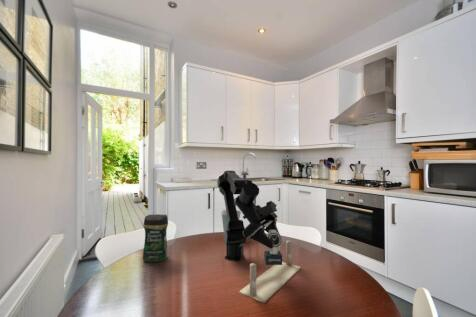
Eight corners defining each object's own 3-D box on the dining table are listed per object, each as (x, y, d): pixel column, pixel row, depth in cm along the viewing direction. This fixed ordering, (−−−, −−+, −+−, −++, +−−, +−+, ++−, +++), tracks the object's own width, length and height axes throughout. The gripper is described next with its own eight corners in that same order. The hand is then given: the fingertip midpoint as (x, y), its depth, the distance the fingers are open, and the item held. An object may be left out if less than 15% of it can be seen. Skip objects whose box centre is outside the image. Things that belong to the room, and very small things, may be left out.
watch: (266, 267, 77) (266, 234, 77) (263, 257, 85) (263, 227, 85) (283, 267, 77) (283, 234, 78) (278, 257, 85) (279, 227, 86)
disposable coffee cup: (222, 233, 133) (222, 207, 133) (240, 234, 133) (240, 207, 133) (220, 239, 122) (220, 211, 123) (240, 240, 122) (240, 211, 122)
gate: (239, 294, 72) (239, 262, 73) (279, 263, 95) (279, 238, 95) (264, 304, 67) (264, 269, 67) (300, 268, 90) (300, 243, 90)
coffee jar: (140, 263, 94) (140, 216, 94) (147, 255, 101) (147, 212, 102) (164, 262, 94) (165, 216, 94) (169, 255, 102) (169, 212, 102)
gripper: (251, 197, 75) (283, 238, 70) (272, 191, 92) (300, 223, 86) (230, 219, 79) (259, 258, 74) (254, 209, 95) (280, 241, 90)
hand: (276, 244), depth 81 cm, fingers closed on watch, 8 cm apart
